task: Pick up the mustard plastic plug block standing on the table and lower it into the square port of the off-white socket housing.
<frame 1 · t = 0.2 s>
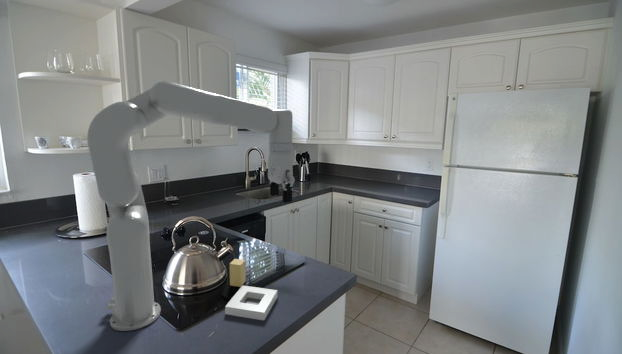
hand: (280, 198, 103), 30 cm above the worktop, tool pointing down, fingers open, 9 cm apart
socket housing: (252, 305, 94), on the worktop
plug block: (238, 283, 106), on the worktop
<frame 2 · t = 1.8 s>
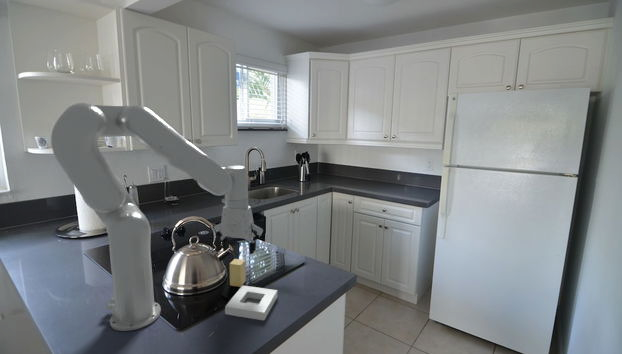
hand: (239, 251, 105), 12 cm above the worktop, tool pointing down, fingers open, 9 cm apart
nothing on the worktop moved.
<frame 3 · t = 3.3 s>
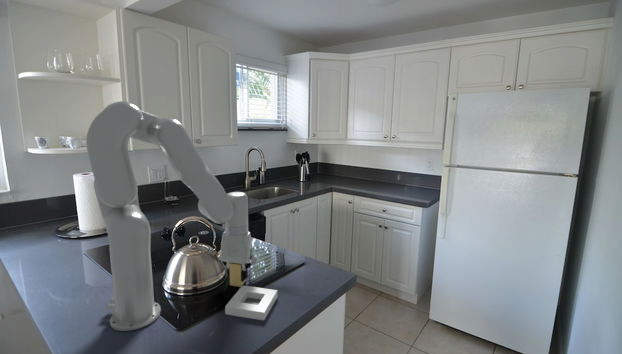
hand: (237, 278, 106), 2 cm above the worktop, tool pointing down, fingers closed on plug block, 4 cm apart
plug block: (237, 283, 106), on the worktop, touching gripper
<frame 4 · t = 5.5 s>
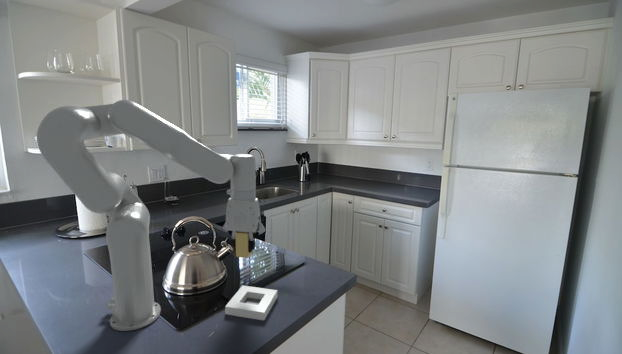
hand: (244, 249, 97), 15 cm above the worktop, tool pointing down, fingers closed on plug block, 4 cm apart
plug block: (244, 254, 98), point 14 cm above the worktop, touching gripper
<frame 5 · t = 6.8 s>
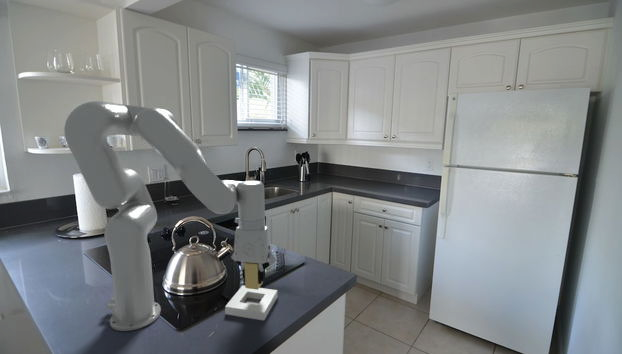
hand: (254, 280, 92), 8 cm above the worktop, tool pointing down, fingers closed on plug block, 4 cm apart
plug block: (254, 285, 93), point 7 cm above the worktop, touching gripper
when the fingers open (4 cm above the worktop, at t = 8.0 s): plug block drops 1 cm, resting on socket housing.
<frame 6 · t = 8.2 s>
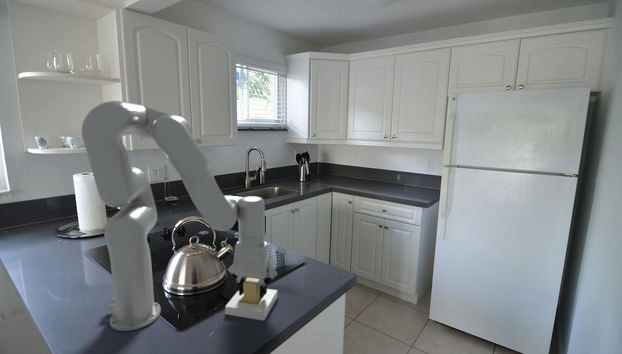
hand: (252, 293, 93), 4 cm above the worktop, tool pointing down, fingers open, 6 cm apart
plug block: (252, 304, 94), resting on socket housing
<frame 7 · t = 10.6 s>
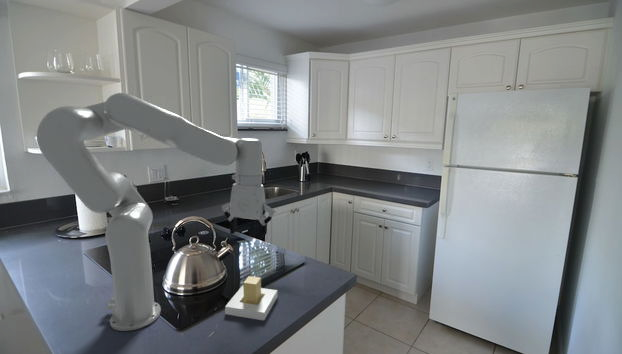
hand: (248, 234, 94), 21 cm above the worktop, tool pointing down, fingers open, 9 cm apart
nothing on the worktop moved.
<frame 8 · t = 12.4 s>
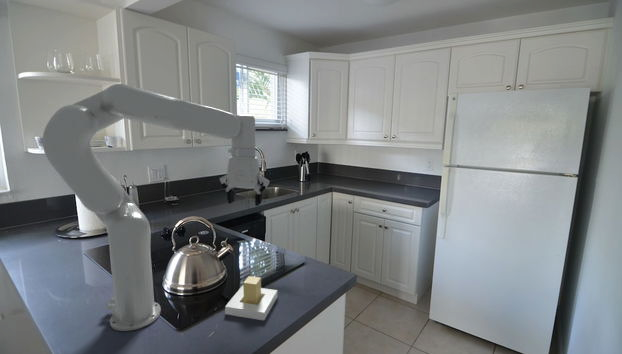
hand: (244, 203, 103), 28 cm above the worktop, tool pointing down, fingers open, 9 cm apart
nothing on the worktop moved.
at the end: plug block 0.1 cm off-centre on the socket housing, point 0.4 cm above the socket housing's base; plug block tilted 0°; the gripper is holding nothing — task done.
